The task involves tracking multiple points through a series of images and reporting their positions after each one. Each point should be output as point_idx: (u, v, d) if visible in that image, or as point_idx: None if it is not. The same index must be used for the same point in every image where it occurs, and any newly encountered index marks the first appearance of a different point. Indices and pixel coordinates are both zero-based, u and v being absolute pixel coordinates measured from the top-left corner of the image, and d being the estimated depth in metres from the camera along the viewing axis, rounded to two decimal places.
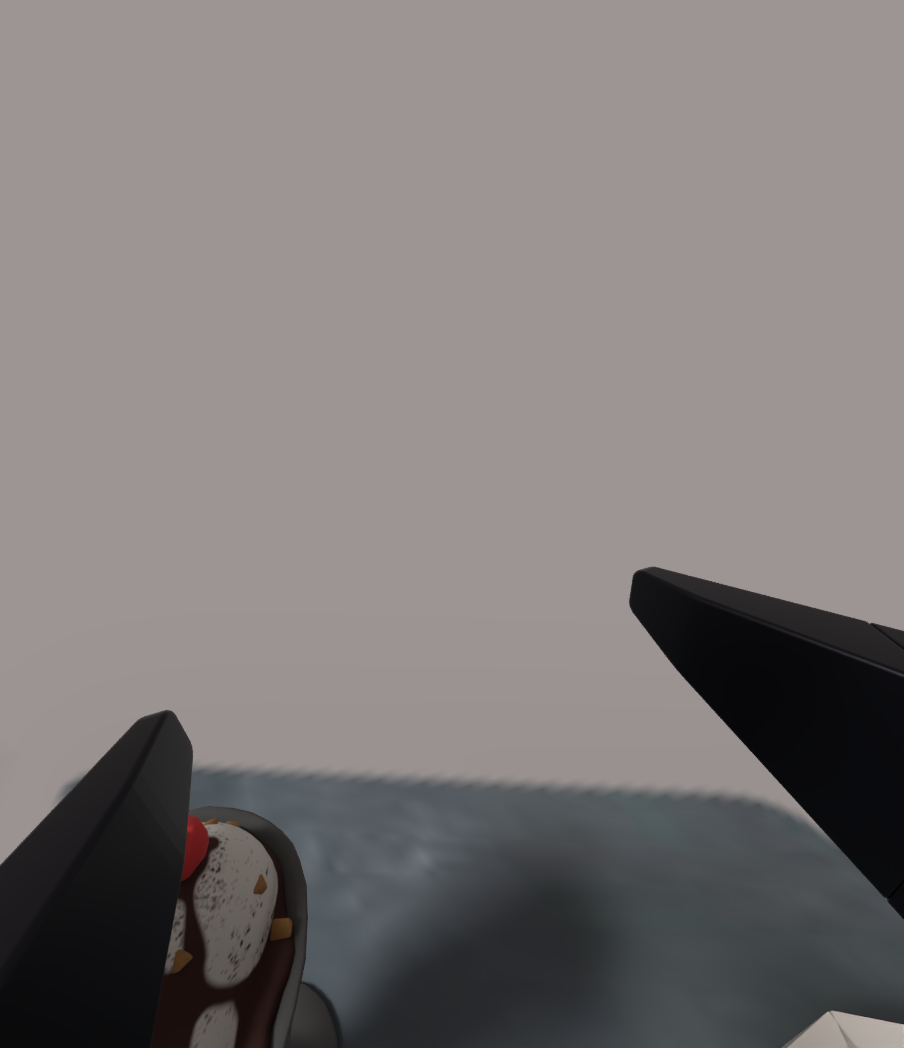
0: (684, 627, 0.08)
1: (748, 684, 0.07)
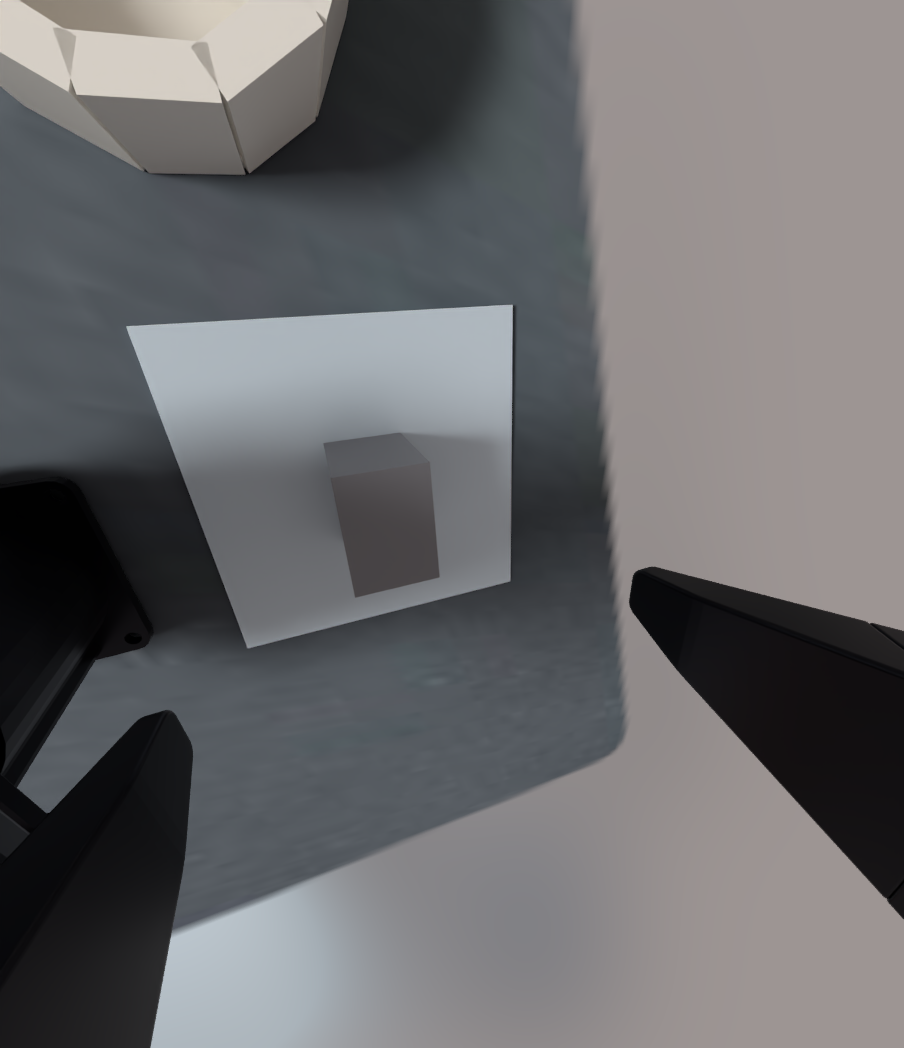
0: (684, 627, 0.08)
1: (748, 684, 0.07)
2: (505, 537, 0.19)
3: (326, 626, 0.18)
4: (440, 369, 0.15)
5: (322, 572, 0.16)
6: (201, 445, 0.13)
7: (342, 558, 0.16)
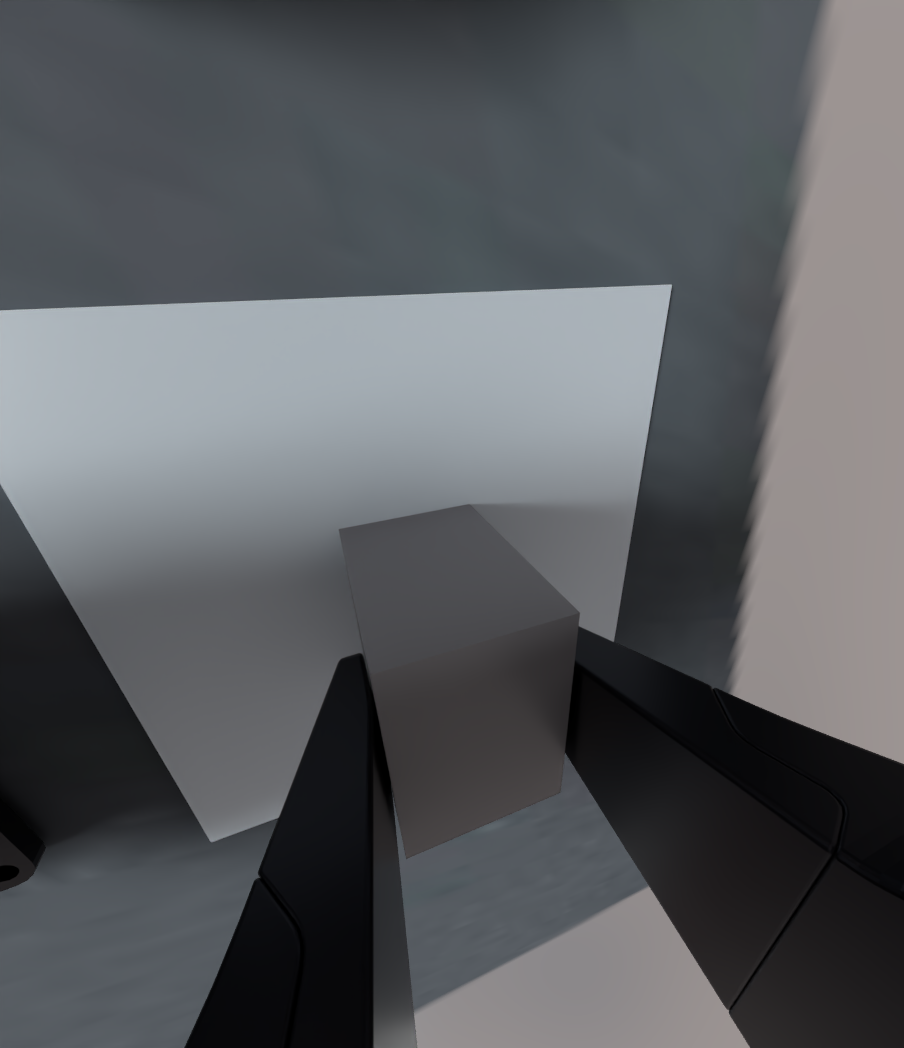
0: None
1: (598, 748, 0.06)
2: None
3: None
4: (544, 397, 0.08)
5: None
6: (105, 548, 0.07)
7: None
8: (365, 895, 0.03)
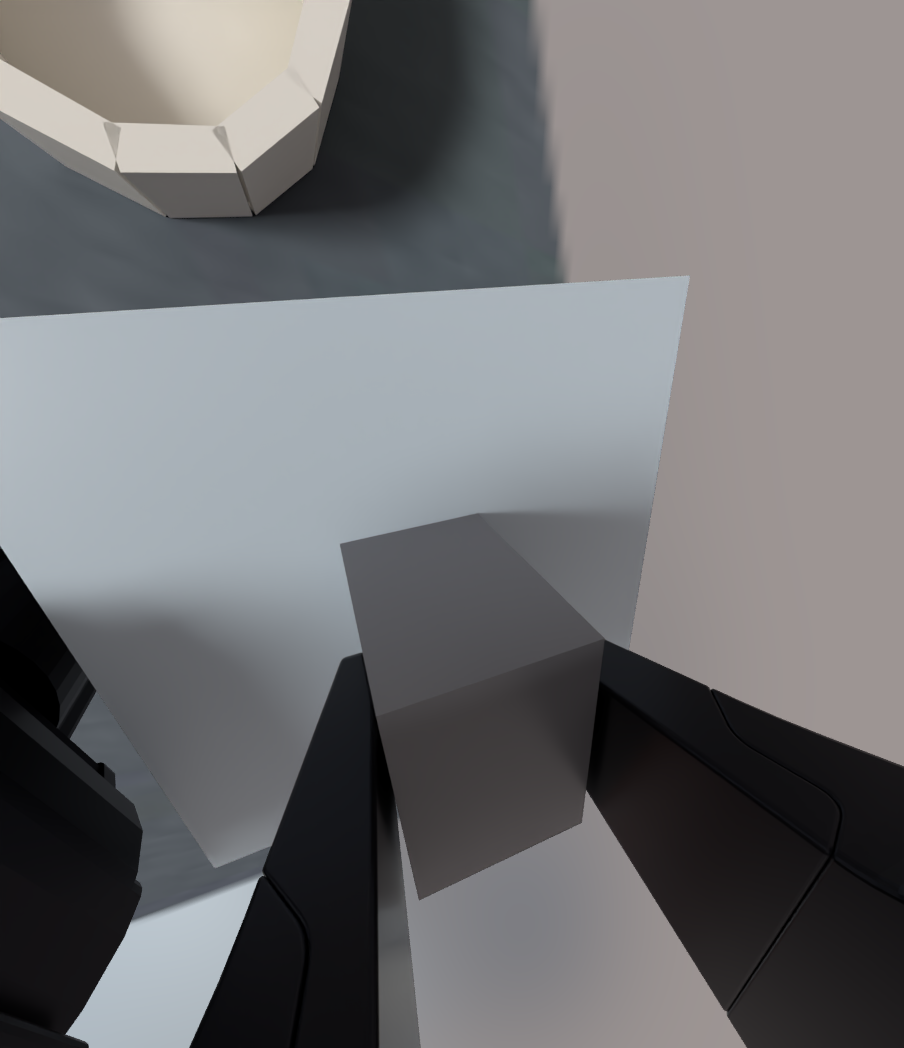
0: None
1: (596, 749, 0.06)
2: None
3: None
4: (555, 398, 0.08)
5: None
6: (91, 572, 0.06)
7: None
8: (370, 892, 0.03)
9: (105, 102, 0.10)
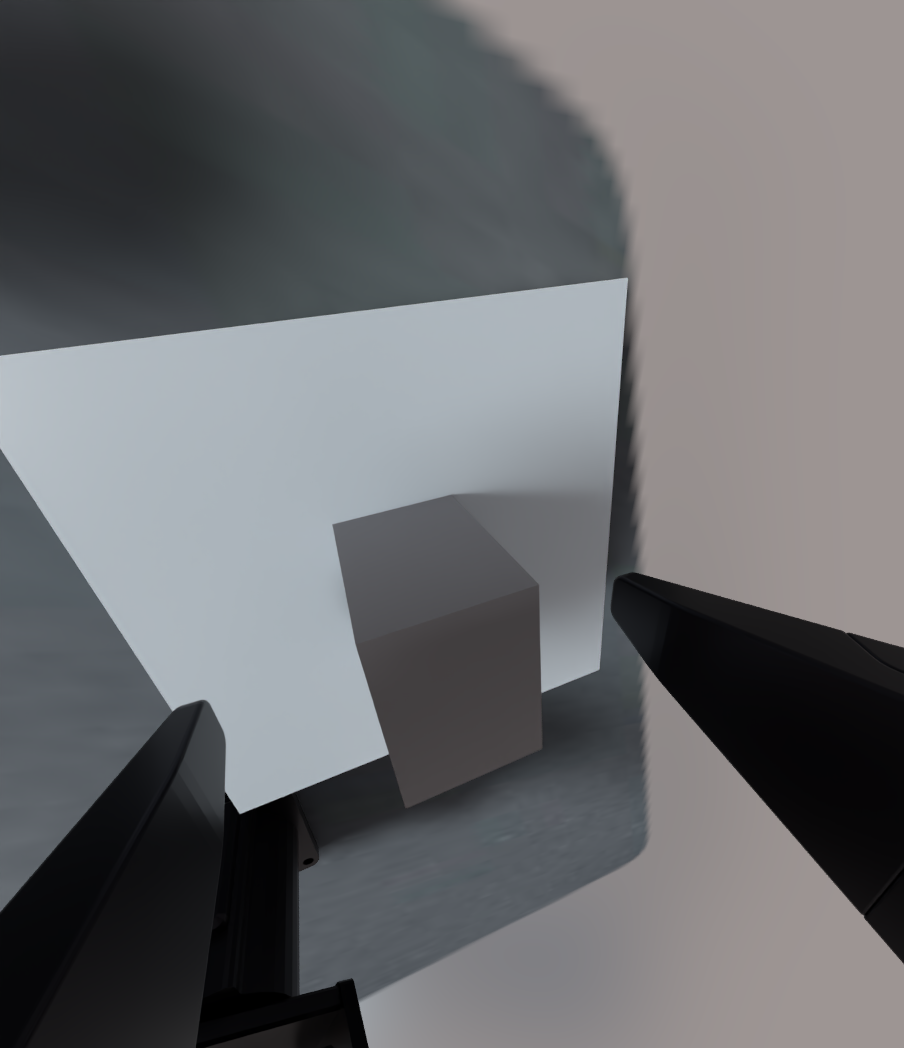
0: (663, 634, 0.08)
1: (725, 694, 0.07)
2: (596, 617, 0.13)
3: (351, 766, 0.12)
4: (513, 391, 0.09)
5: (342, 701, 0.11)
6: (127, 552, 0.08)
7: None
8: None
9: None
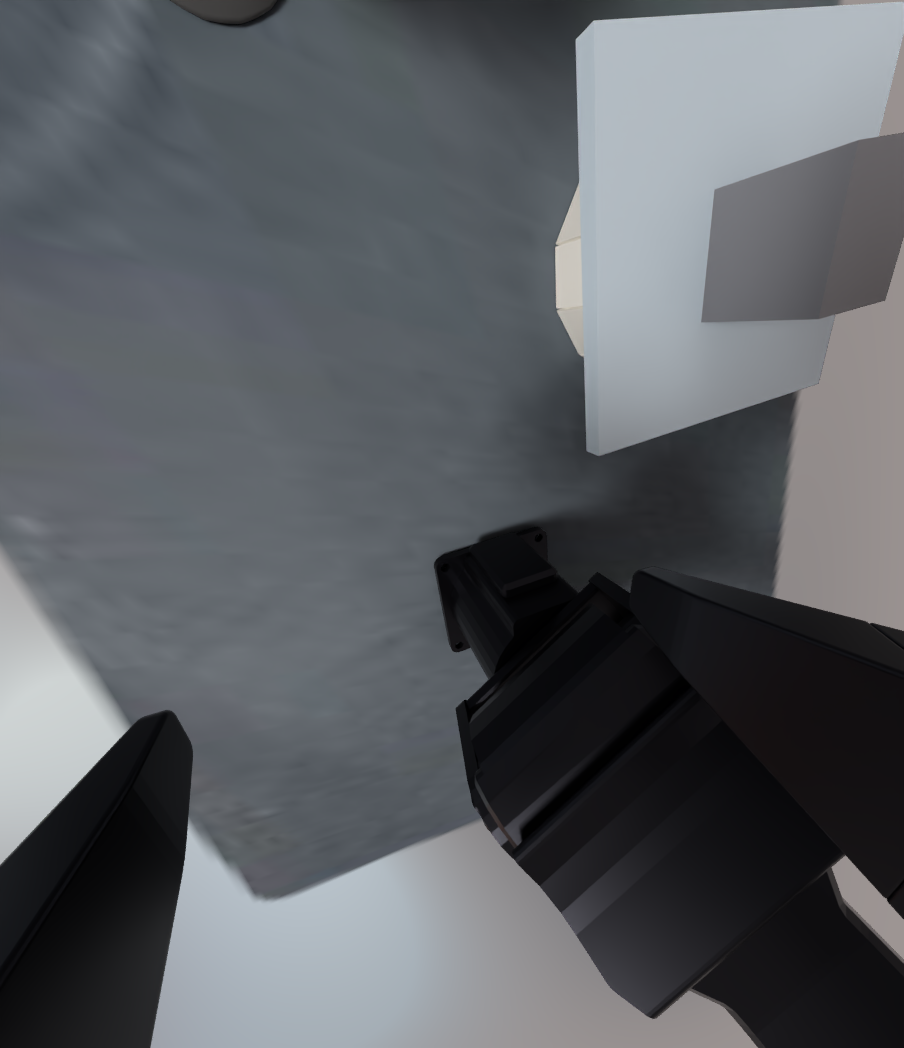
0: (684, 627, 0.08)
1: (748, 684, 0.07)
2: (828, 325, 0.17)
3: (661, 434, 0.17)
4: (830, 91, 0.13)
5: (676, 361, 0.16)
6: (619, 187, 0.12)
7: (695, 344, 0.16)
8: None
9: None
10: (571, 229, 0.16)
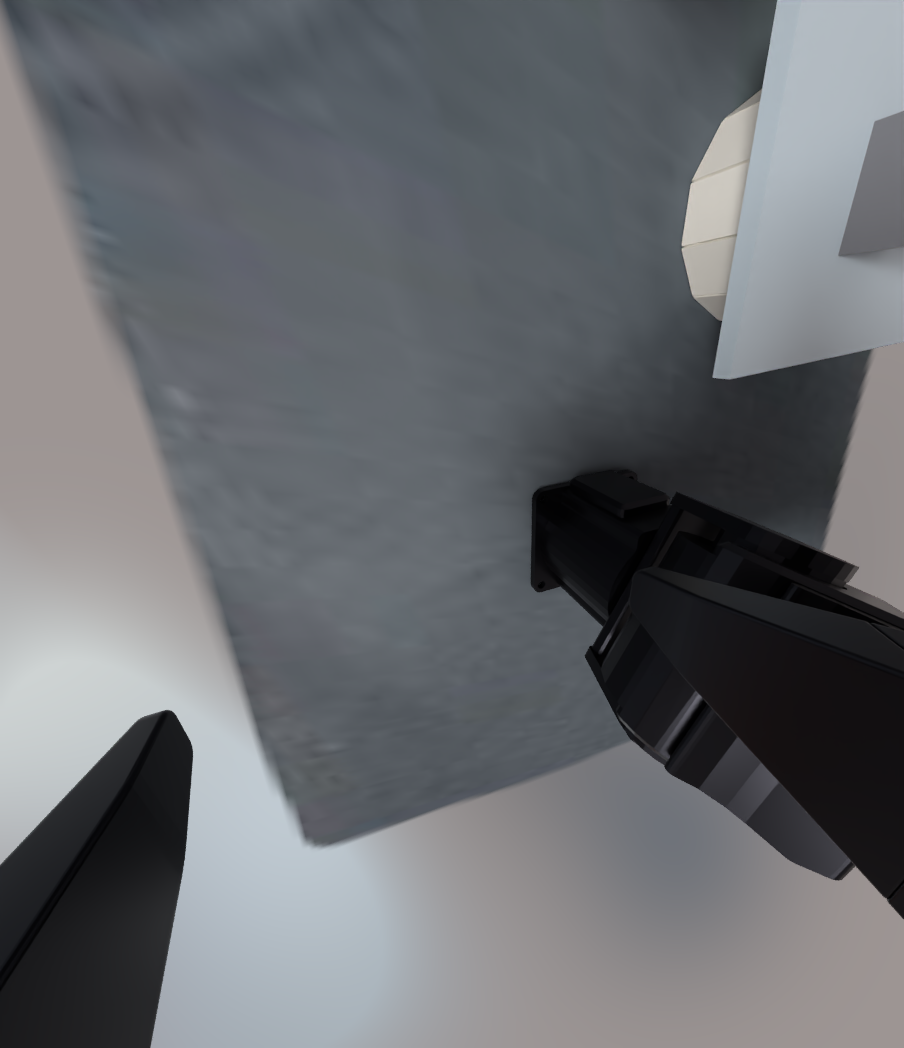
0: (684, 627, 0.08)
1: (748, 684, 0.07)
2: None
3: (782, 367, 0.18)
4: None
5: (810, 292, 0.16)
6: (801, 103, 0.13)
7: (828, 277, 0.16)
8: None
9: None
10: (713, 164, 0.17)
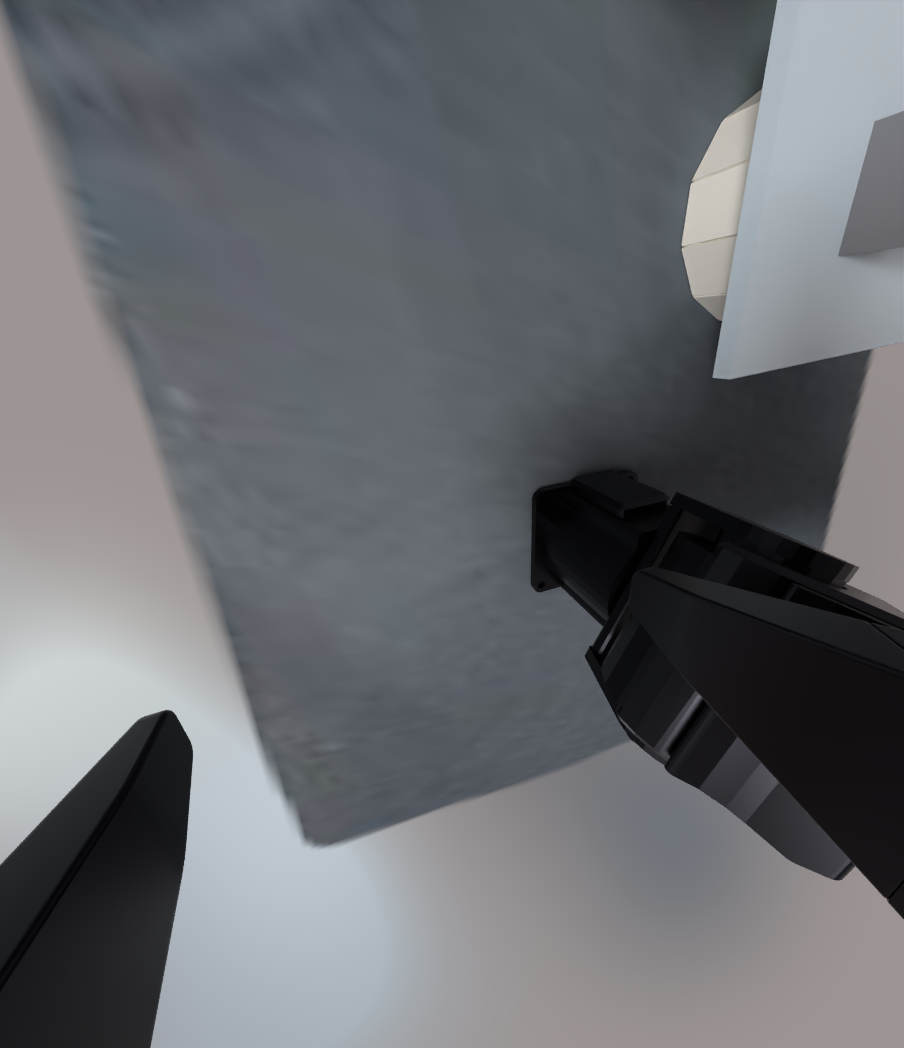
0: (684, 627, 0.08)
1: (748, 684, 0.07)
2: None
3: (782, 367, 0.18)
4: None
5: (810, 292, 0.16)
6: (801, 103, 0.13)
7: (828, 277, 0.16)
8: None
9: None
10: (713, 164, 0.17)
